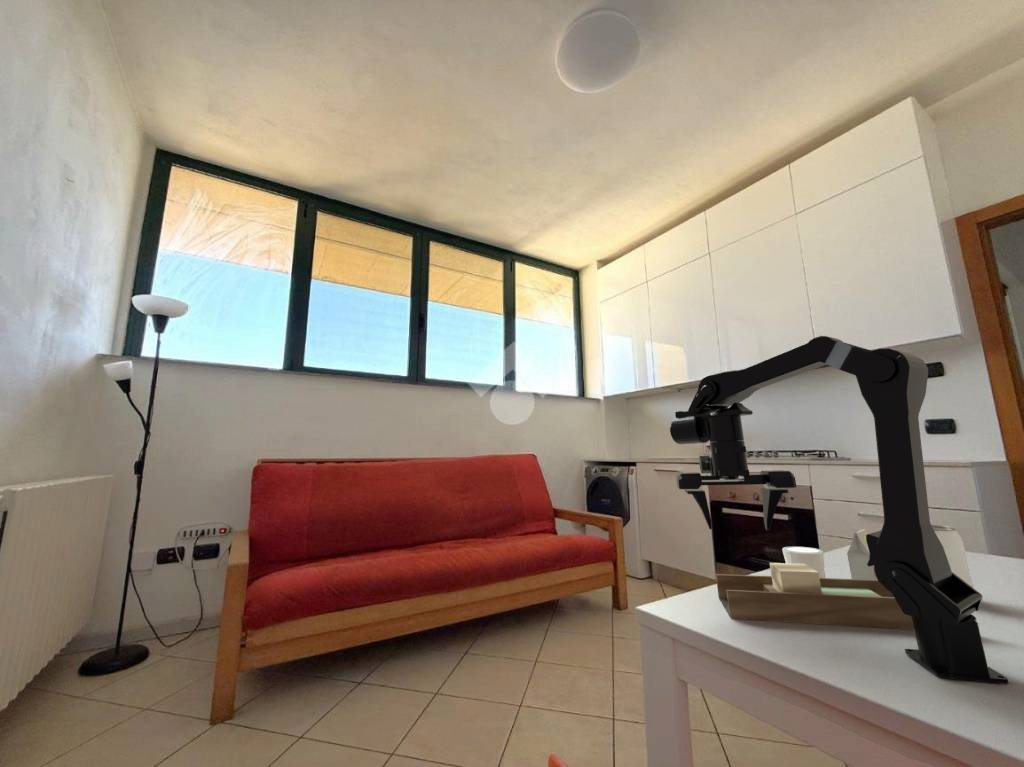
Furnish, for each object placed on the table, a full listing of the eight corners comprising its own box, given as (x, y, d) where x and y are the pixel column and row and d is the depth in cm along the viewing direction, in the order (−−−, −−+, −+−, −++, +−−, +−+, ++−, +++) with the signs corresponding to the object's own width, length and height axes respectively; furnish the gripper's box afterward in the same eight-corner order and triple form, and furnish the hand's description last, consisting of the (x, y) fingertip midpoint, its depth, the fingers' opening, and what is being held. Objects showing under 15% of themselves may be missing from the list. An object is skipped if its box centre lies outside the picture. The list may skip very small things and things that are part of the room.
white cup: (815, 581, 83) (809, 545, 85) (838, 592, 77) (831, 552, 78) (780, 581, 84) (775, 546, 85) (800, 592, 77) (794, 553, 79)
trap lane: (965, 633, 58) (958, 601, 59) (730, 618, 66) (727, 590, 67) (919, 608, 68) (913, 581, 68) (718, 598, 76) (715, 574, 77)
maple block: (822, 598, 65) (818, 572, 66) (783, 597, 67) (779, 571, 68) (808, 588, 70) (804, 563, 71) (773, 586, 72) (769, 562, 73)
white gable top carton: (852, 585, 80) (843, 532, 82) (863, 578, 84) (854, 527, 86) (877, 589, 78) (866, 534, 79) (886, 582, 81) (876, 529, 83)
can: (976, 608, 67) (958, 531, 69) (921, 599, 72) (906, 527, 74) (978, 598, 71) (961, 526, 73) (925, 590, 76) (911, 523, 78)
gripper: (770, 440, 81) (783, 522, 78) (670, 445, 86) (679, 521, 83) (789, 438, 70) (805, 533, 67) (674, 443, 76) (684, 531, 73)
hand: (738, 529), depth 73 cm, fingers open, 9 cm apart
